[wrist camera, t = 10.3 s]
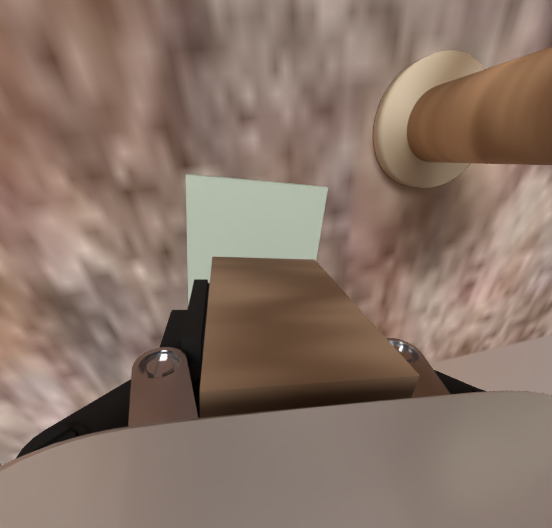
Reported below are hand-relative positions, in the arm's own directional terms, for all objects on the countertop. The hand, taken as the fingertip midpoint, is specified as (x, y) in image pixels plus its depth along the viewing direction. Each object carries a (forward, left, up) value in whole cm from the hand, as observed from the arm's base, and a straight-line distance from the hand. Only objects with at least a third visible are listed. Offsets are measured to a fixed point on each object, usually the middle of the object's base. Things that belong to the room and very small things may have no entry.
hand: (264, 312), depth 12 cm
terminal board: (0, 0, -6) cm, 6 cm away
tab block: (0, 0, -1) cm, 1 cm away
